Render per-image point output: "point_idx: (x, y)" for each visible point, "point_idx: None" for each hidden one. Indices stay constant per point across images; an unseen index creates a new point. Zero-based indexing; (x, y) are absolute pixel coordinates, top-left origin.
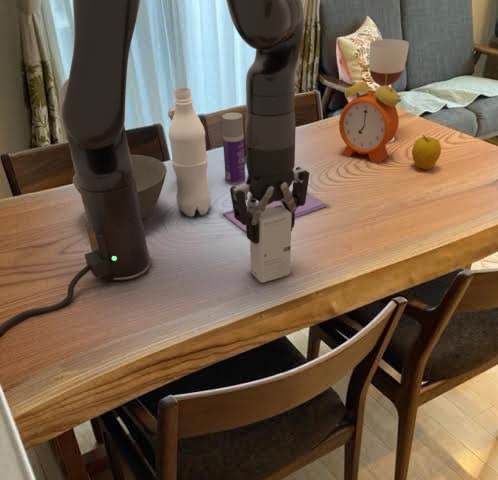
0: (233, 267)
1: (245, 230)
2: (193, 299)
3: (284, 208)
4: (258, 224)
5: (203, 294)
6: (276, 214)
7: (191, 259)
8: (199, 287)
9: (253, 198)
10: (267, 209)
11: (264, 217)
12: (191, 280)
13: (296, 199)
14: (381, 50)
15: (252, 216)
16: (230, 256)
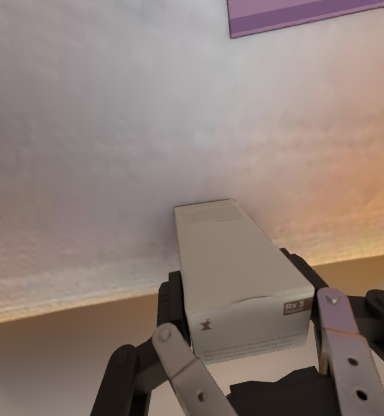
0: (147, 175)
1: (231, 16)
2: (53, 242)
3: (306, 322)
4: (189, 346)
5: (73, 235)
6: (260, 348)
7: (55, 102)
8: (67, 214)
9: (206, 397)
10: (252, 319)
11: (216, 355)
12: (52, 187)
13: (372, 336)
14: None
15: (170, 383)
16: (153, 130)
